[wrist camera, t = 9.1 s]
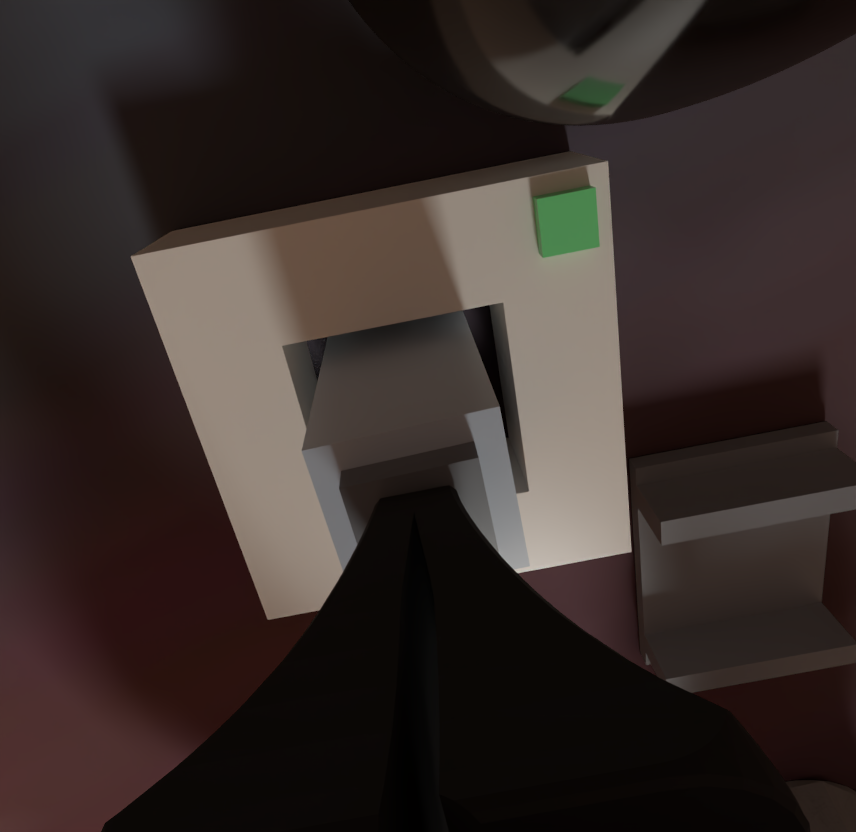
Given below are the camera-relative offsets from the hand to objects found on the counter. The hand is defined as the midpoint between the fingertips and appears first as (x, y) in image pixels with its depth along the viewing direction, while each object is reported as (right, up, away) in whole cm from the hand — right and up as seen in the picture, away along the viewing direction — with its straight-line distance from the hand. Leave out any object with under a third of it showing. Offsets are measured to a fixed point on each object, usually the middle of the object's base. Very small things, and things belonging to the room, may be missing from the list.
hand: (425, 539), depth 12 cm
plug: (0, +3, +7) cm, 8 cm away
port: (0, +3, +7) cm, 8 cm away
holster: (+10, -2, +10) cm, 14 cm away
